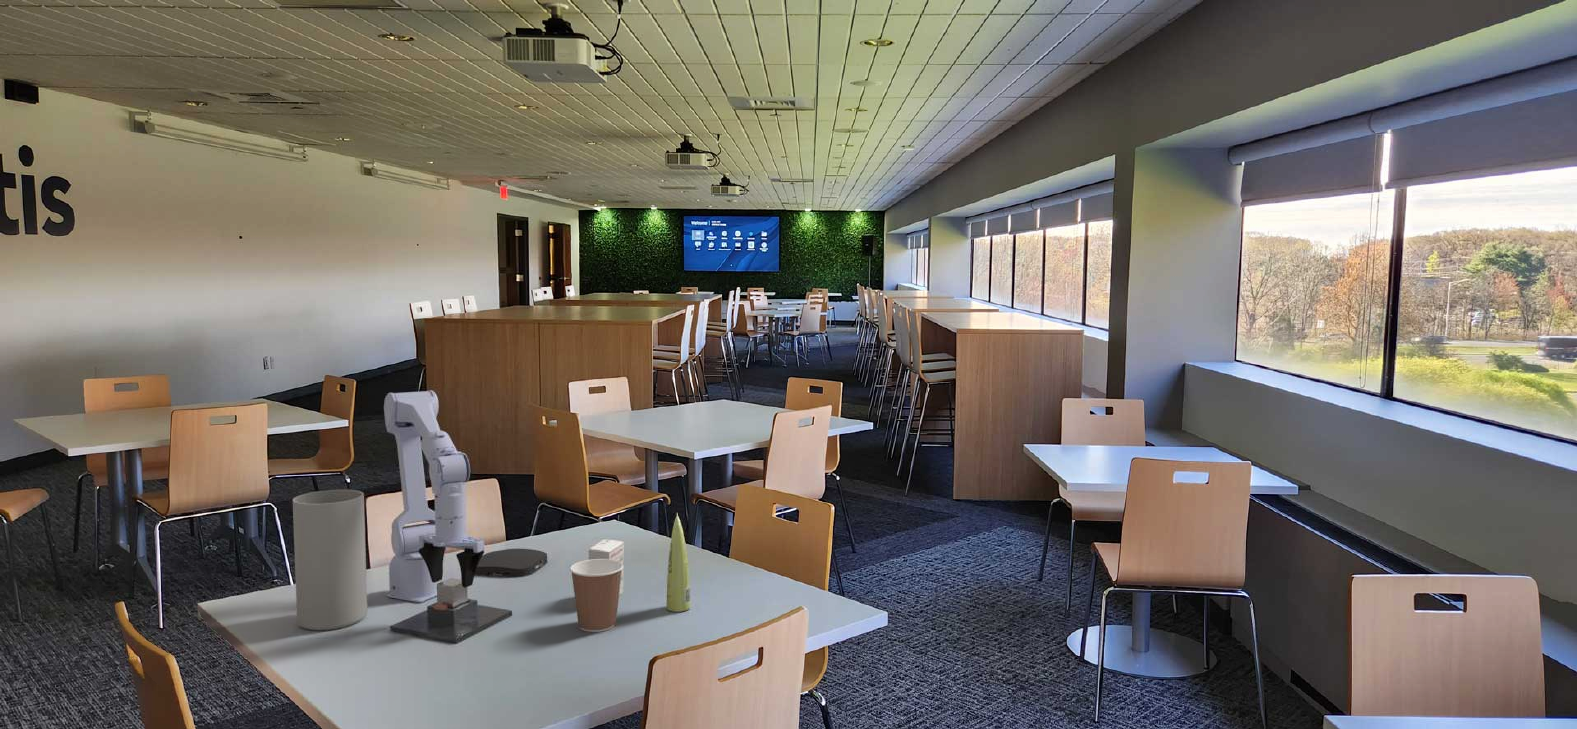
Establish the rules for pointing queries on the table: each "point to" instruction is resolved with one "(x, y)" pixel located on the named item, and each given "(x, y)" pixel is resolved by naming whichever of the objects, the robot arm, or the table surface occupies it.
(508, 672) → the table surface
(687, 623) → the table surface
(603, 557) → the ink box
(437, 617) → the stand
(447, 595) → the column
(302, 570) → the cylinder vase
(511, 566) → the media streaming box
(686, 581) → the tube
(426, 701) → the table surface
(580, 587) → the coffee cup
